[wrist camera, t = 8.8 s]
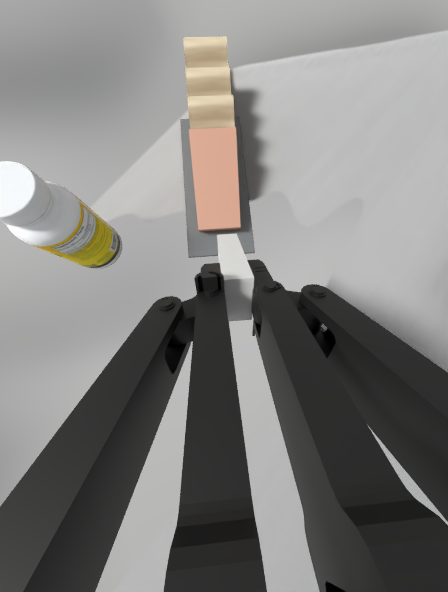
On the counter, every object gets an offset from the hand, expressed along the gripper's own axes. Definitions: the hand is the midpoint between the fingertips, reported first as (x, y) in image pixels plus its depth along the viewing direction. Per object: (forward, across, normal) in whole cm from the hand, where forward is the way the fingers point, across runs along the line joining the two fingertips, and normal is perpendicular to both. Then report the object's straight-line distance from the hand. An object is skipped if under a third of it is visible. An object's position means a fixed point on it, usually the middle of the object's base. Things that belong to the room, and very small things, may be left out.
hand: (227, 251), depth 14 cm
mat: (+17, 0, +3) cm, 17 cm away
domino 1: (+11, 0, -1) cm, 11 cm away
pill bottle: (+11, -16, -3) cm, 20 cm away
